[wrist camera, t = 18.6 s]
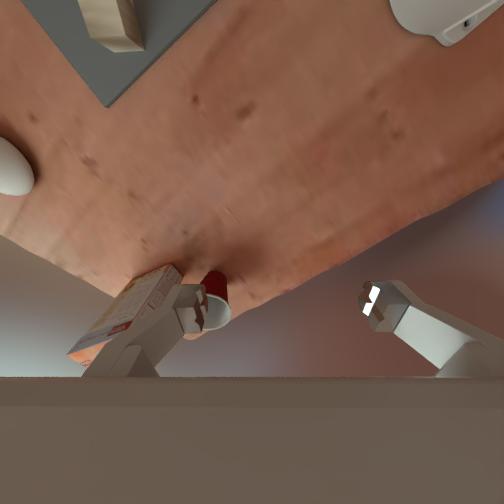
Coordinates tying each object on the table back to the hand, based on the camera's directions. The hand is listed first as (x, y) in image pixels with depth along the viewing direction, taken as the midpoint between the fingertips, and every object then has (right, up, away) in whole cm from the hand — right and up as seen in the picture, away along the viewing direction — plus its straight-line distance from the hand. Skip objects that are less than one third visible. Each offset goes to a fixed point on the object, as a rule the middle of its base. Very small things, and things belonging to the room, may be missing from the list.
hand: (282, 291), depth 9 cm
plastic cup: (-11, -5, +40) cm, 42 cm away
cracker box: (-27, -5, +41) cm, 49 cm away
